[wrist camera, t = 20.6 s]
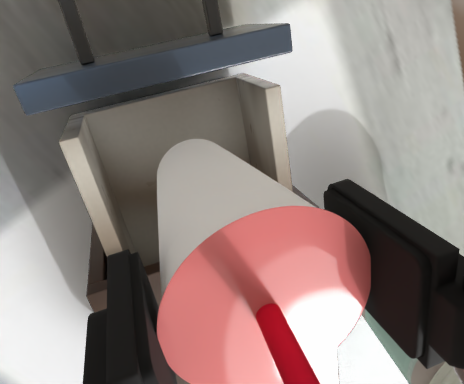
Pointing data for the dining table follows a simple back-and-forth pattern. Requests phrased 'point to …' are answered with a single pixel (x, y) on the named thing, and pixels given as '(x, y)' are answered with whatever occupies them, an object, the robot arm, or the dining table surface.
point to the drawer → (160, 118)
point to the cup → (250, 272)
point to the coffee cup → (412, 360)
